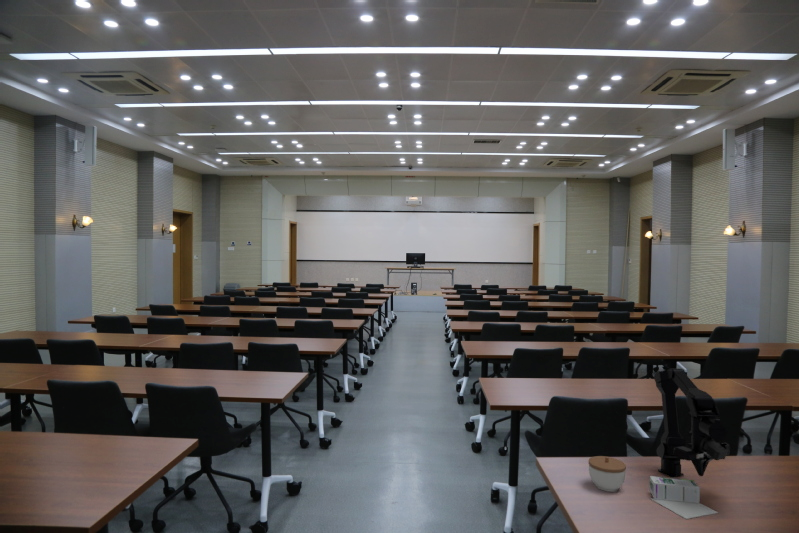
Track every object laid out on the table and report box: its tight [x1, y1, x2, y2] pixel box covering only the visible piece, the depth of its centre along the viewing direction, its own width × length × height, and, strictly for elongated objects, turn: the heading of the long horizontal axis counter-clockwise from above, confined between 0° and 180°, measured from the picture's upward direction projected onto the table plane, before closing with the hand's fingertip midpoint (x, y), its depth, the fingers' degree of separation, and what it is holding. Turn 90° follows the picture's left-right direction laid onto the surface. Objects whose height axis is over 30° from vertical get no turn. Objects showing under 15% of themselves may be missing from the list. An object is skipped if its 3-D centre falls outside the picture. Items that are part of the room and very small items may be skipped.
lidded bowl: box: [588, 455, 627, 493], centre depth 179 cm, size 13×13×11 cm
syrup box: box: [648, 475, 701, 503], centre depth 171 cm, size 6×6×14 cm
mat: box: [649, 497, 719, 520], centre depth 165 cm, size 14×14×1 cm
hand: (700, 475), depth 171 cm, fingers closed
